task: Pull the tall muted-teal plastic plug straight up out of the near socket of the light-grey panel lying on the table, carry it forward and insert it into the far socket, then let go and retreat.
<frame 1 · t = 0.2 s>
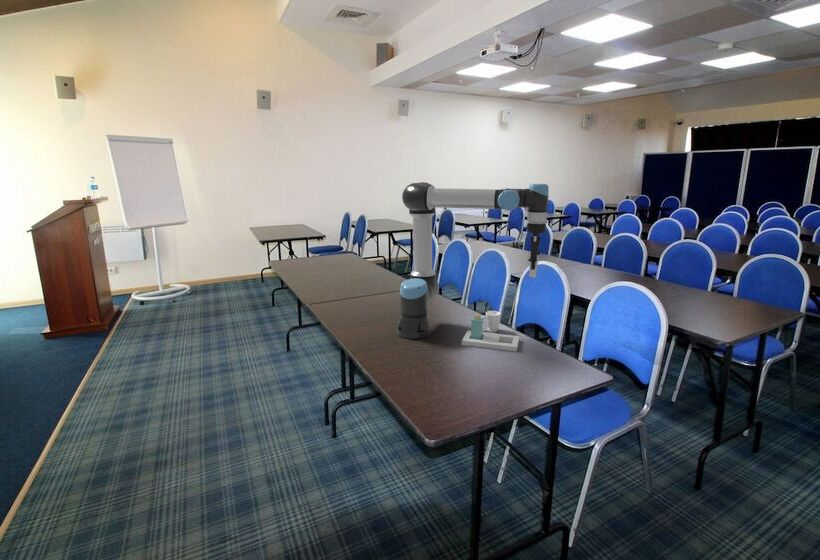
hand: (533, 273, 176), 28 cm above the table, fingers open, 13 cm apart
panel: (490, 342, 174), on the table
cup: (489, 330, 188), on the table
plug: (476, 341, 176), resting in panel
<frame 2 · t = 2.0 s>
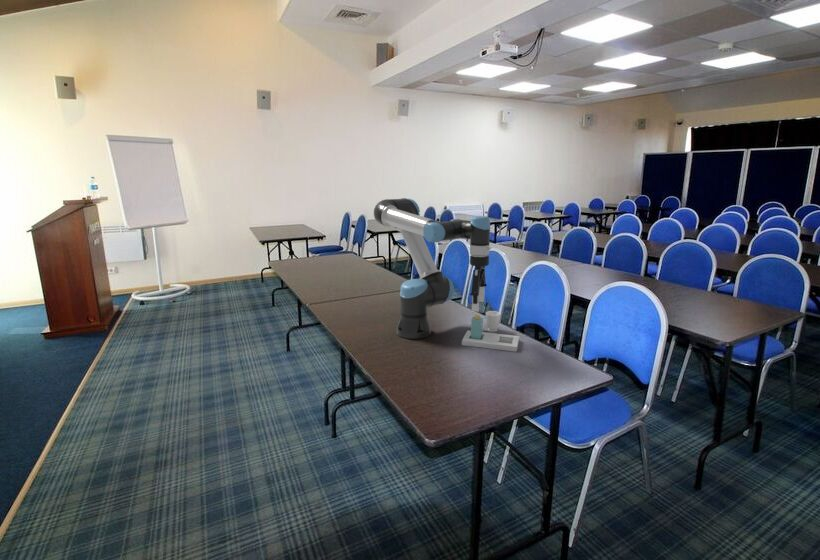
hand: (478, 306, 172), 15 cm above the table, fingers open, 13 cm apart
nothing on the table moved.
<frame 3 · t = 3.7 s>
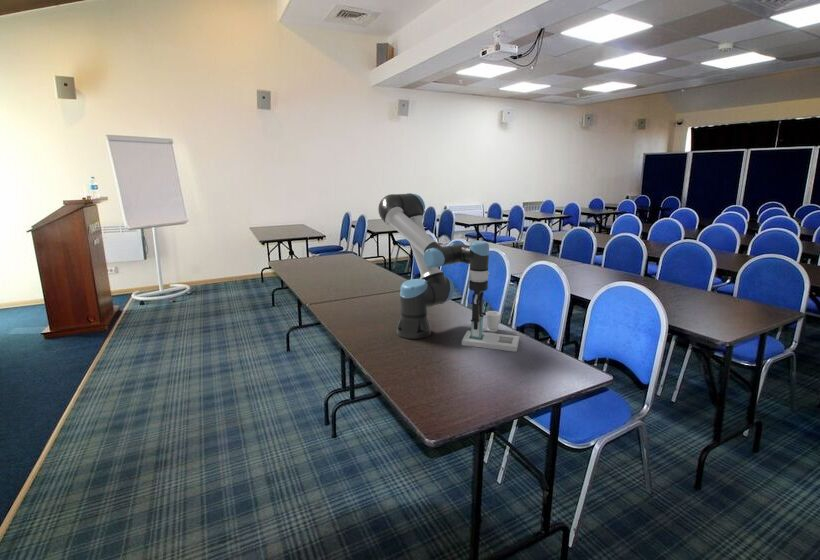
hand: (476, 334, 175), 3 cm above the table, fingers closed on plug, 4 cm apart
plug: (476, 341, 176), resting in panel, touching gripper
everything else where it was.
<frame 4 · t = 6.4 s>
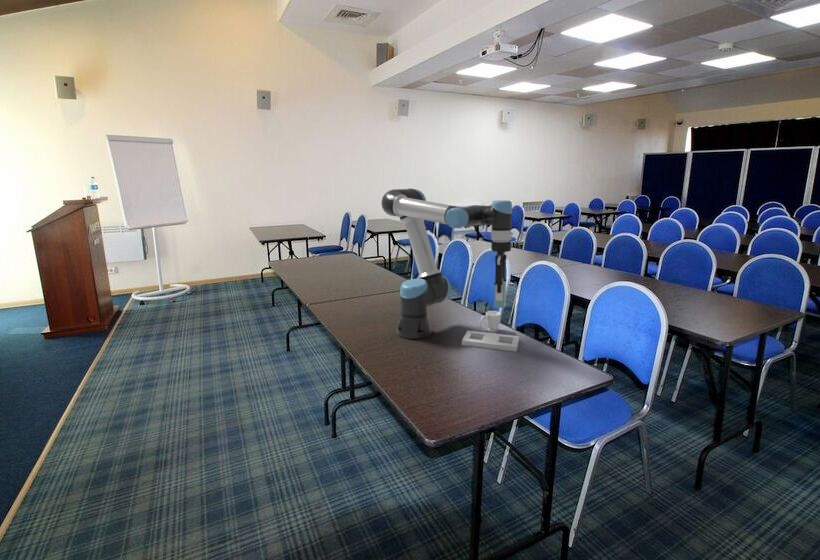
hand: (500, 298, 168), 20 cm above the table, fingers closed on plug, 4 cm apart
plug: (499, 306, 169), point 16 cm above the table, touching gripper
everything else where it was.
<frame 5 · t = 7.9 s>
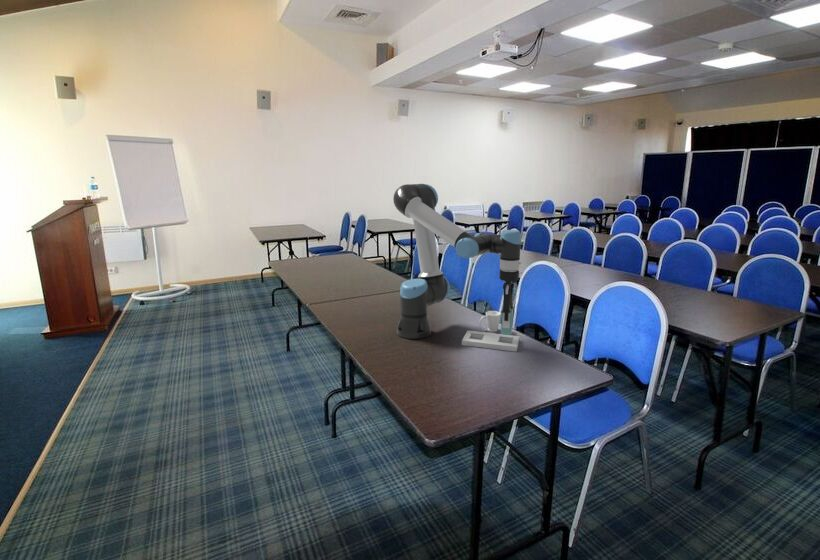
hand: (506, 325, 170), 8 cm above the table, fingers closed on plug, 4 cm apart
plug: (506, 333, 171), point 5 cm above the table, touching gripper
everything else where it was.
when the fingers open (4 cm above the table, at t = 8.9 s): plug drops 1 cm, resting in panel.
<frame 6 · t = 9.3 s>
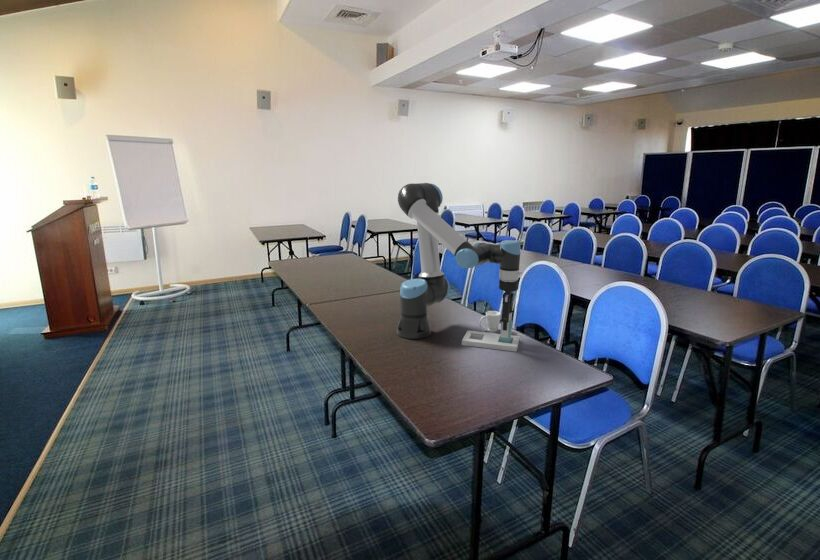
hand: (506, 332, 171), 5 cm above the table, fingers open, 10 cm apart
plug: (505, 344, 172), resting in panel
everything else where it was.
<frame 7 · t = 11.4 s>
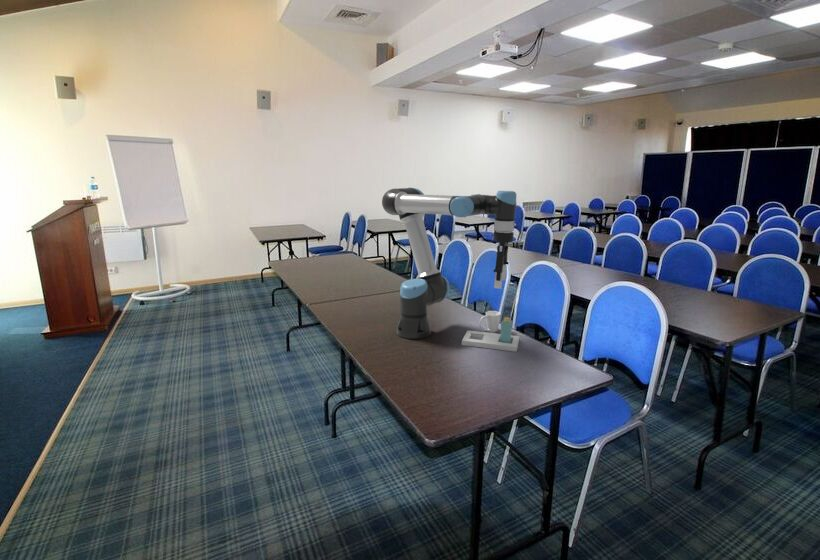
hand: (500, 284, 168), 25 cm above the table, fingers open, 13 cm apart
nothing on the table moved.
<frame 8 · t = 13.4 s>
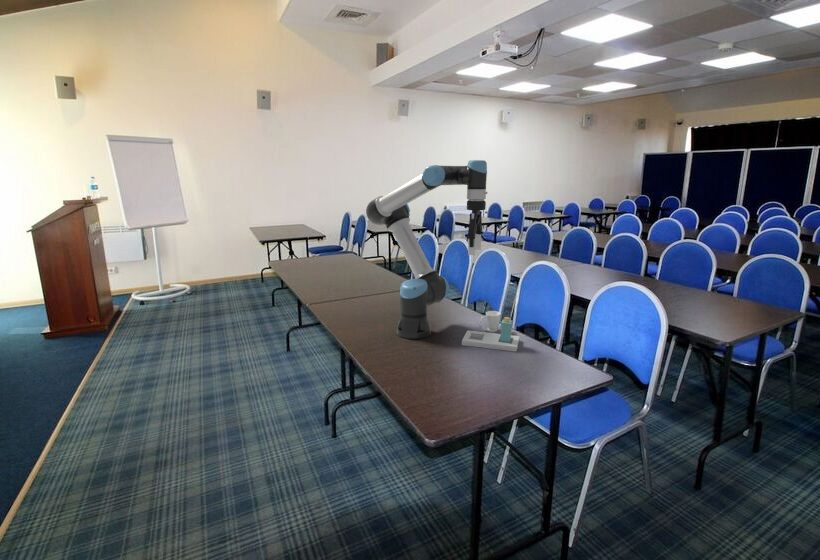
hand: (474, 252, 173), 37 cm above the table, fingers open, 13 cm apart
nothing on the table moved.
at the end: plug 0.0 cm from the target spot on the panel, point 0.0 cm above the panel's base; plug tilted 0°; the gripper is holding nothing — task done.
